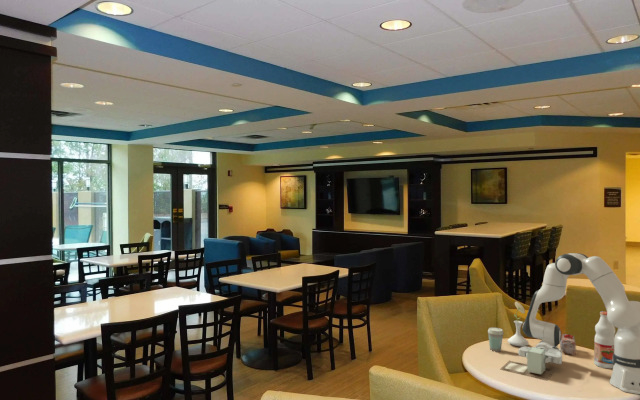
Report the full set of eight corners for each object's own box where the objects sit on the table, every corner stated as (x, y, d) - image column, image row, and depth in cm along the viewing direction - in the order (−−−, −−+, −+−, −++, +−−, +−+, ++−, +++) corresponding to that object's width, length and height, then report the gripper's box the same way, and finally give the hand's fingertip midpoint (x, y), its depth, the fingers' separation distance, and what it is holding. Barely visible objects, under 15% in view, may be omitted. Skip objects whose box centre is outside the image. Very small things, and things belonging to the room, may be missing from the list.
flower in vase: (530, 348, 266) (531, 305, 266) (509, 347, 268) (510, 304, 268) (525, 341, 279) (525, 300, 279) (505, 340, 281) (506, 299, 281)
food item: (576, 356, 254) (576, 338, 254) (560, 354, 258) (560, 336, 257) (574, 349, 266) (574, 332, 266) (559, 347, 270) (559, 330, 270)
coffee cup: (500, 353, 257) (501, 332, 257) (485, 350, 262) (485, 329, 262) (505, 349, 264) (505, 329, 264) (490, 346, 269) (490, 326, 269)
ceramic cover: (545, 369, 229) (545, 349, 229) (541, 374, 223) (541, 354, 223) (531, 366, 233) (531, 346, 233) (527, 371, 227) (527, 351, 227)
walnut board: (554, 372, 230) (554, 370, 230) (547, 382, 218) (547, 380, 218) (509, 362, 244) (509, 360, 244) (499, 371, 231) (499, 369, 231)
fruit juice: (603, 361, 247) (604, 309, 246) (619, 367, 238) (620, 313, 237) (589, 363, 244) (590, 310, 244) (605, 369, 235) (606, 315, 235)
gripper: (522, 341, 245) (514, 348, 235) (564, 349, 233) (558, 357, 222) (522, 353, 245) (514, 360, 235) (564, 362, 233) (558, 370, 222)
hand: (536, 359), depth 228 cm, fingers closed on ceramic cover, 6 cm apart
